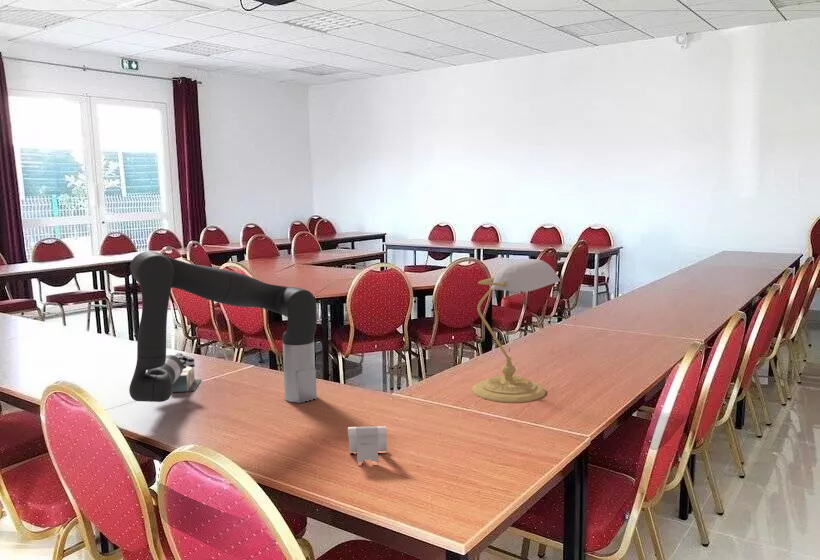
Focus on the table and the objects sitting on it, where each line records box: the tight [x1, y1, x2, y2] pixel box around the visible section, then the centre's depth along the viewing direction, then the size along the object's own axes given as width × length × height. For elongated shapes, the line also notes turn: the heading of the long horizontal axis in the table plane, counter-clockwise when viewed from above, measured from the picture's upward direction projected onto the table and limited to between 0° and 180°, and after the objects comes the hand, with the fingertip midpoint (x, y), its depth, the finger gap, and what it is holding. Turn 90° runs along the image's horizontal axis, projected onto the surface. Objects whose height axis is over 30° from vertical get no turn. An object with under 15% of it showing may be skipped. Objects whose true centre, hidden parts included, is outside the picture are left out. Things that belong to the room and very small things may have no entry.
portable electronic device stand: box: [347, 425, 388, 463], centre depth 150 cm, size 9×8×8 cm
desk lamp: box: [471, 258, 561, 404], centre depth 197 cm, size 31×23×40 cm
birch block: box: [172, 366, 196, 393], centre depth 207 cm, size 5×5×12 cm
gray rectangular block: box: [178, 378, 202, 393], centre depth 208 cm, size 12×9×1 cm
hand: (179, 356), depth 205 cm, fingers closed
